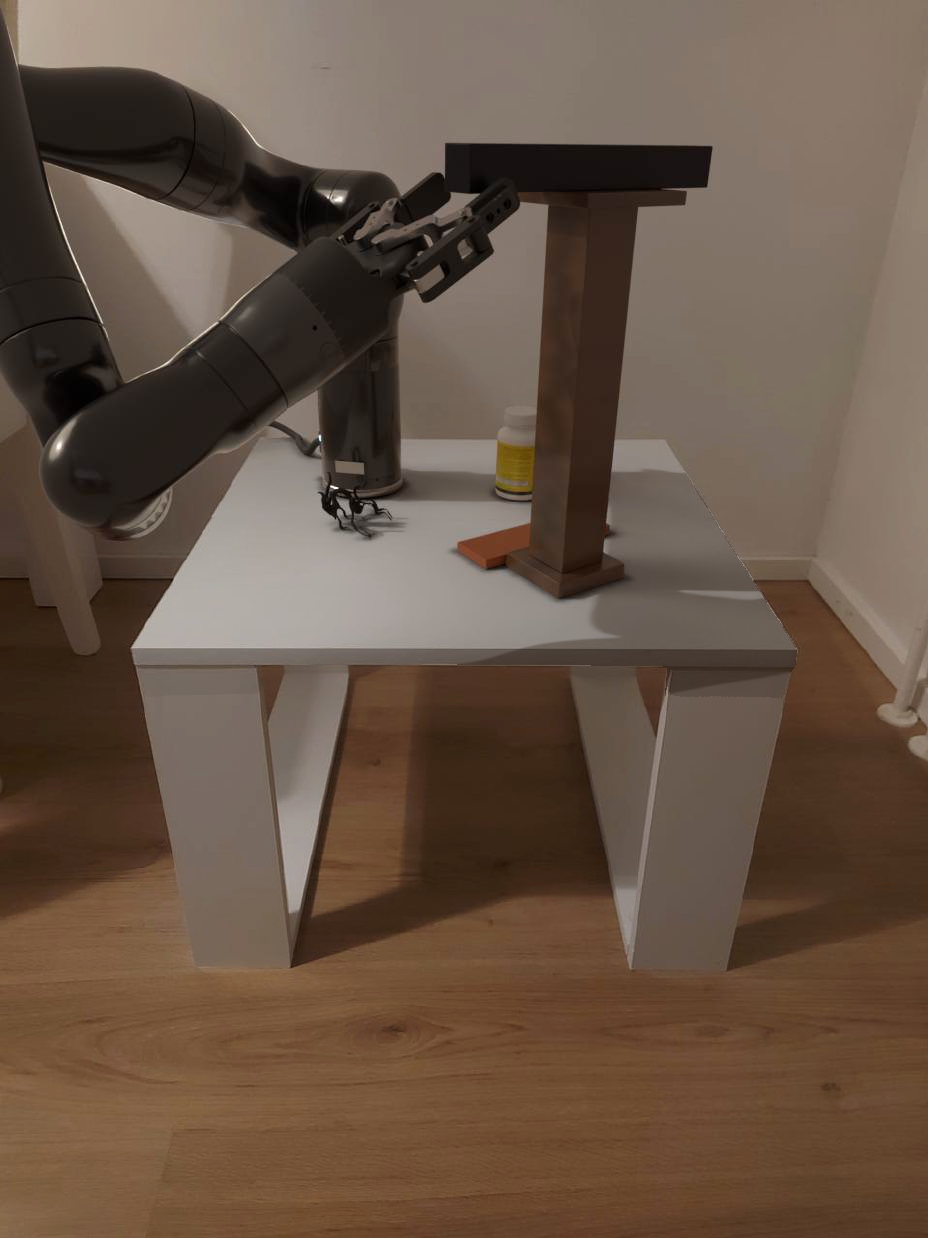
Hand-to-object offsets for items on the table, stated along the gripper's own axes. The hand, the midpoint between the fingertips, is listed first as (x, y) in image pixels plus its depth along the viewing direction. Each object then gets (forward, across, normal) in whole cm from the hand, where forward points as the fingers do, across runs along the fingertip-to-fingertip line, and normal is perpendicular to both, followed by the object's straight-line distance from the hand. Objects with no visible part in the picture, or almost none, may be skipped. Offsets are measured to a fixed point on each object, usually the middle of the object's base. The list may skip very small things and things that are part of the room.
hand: (477, 186), depth 62 cm
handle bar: (+9, 0, +4) cm, 9 cm away
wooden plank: (-6, +7, +35) cm, 36 cm away
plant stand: (-7, 0, +34) cm, 35 cm away
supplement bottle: (0, +19, +39) cm, 43 cm away
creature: (-17, +21, +29) cm, 39 cm away
